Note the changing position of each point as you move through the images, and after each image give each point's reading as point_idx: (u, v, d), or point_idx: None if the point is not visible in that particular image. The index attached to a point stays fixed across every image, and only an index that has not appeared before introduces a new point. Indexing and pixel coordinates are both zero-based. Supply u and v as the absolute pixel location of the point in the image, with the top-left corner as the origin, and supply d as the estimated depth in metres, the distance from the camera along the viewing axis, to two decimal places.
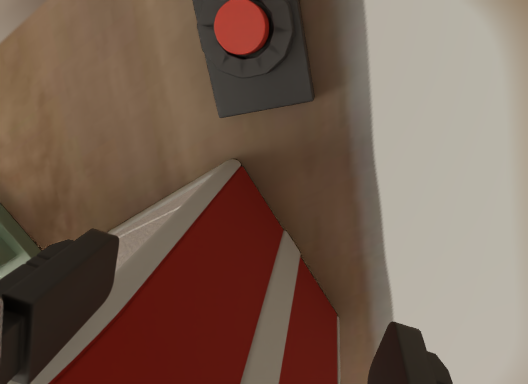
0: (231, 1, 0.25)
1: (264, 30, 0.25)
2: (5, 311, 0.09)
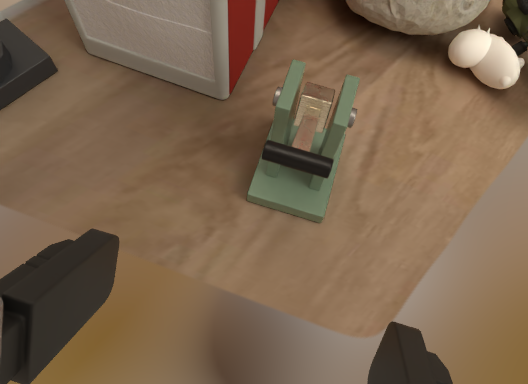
0: None
1: None
2: (5, 311, 0.09)
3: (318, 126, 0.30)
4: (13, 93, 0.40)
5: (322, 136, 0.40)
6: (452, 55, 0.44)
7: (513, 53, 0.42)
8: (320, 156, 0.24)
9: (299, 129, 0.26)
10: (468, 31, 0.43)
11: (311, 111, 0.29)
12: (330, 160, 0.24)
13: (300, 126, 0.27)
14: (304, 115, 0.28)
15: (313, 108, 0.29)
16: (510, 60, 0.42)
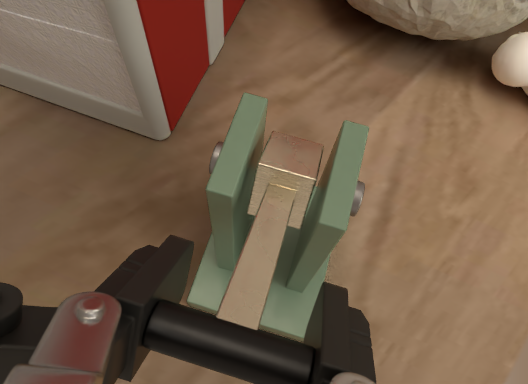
0: None
1: None
2: None
3: (292, 218, 0.16)
4: None
5: None
6: (499, 69, 0.30)
7: None
8: (282, 348, 0.10)
9: (244, 252, 0.12)
10: (524, 34, 0.29)
11: (276, 196, 0.15)
12: (306, 360, 0.10)
13: (247, 243, 0.13)
14: (261, 208, 0.14)
15: (281, 187, 0.15)
16: None
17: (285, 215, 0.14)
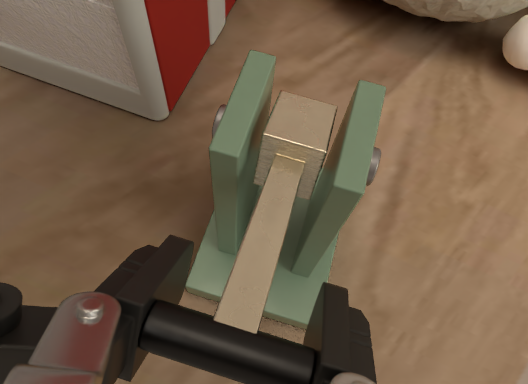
0: None
1: None
2: None
3: (301, 189, 0.15)
4: None
5: None
6: (511, 51, 0.29)
7: None
8: (282, 355, 0.09)
9: (245, 242, 0.11)
10: None
11: (283, 170, 0.14)
12: (306, 367, 0.09)
13: (249, 230, 0.12)
14: (265, 187, 0.13)
15: (288, 159, 0.14)
16: None
17: (291, 194, 0.13)
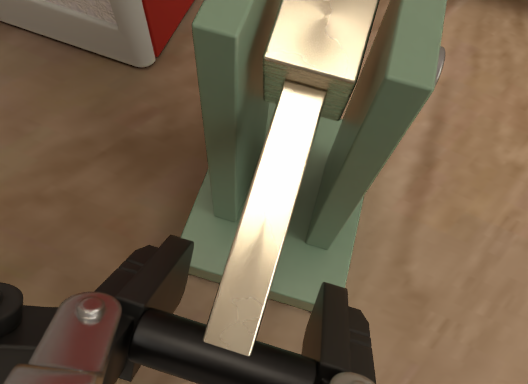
0: None
1: None
2: None
3: (326, 112, 0.11)
4: None
5: (332, 134, 0.20)
6: None
7: None
8: None
9: (240, 233, 0.09)
10: None
11: (294, 108, 0.10)
12: None
13: (246, 214, 0.09)
14: (268, 141, 0.10)
15: (303, 86, 0.10)
16: None
17: (304, 149, 0.10)
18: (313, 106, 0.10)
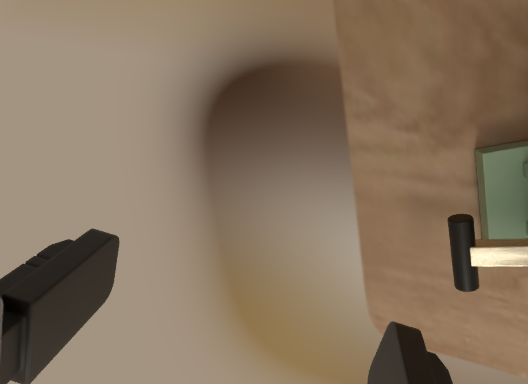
0: None
1: None
2: (5, 311, 0.09)
3: None
4: None
5: None
6: None
7: None
8: (465, 278, 0.22)
9: (525, 248, 0.20)
10: None
11: None
12: (464, 288, 0.22)
13: None
14: None
15: None
16: None
17: None
18: None
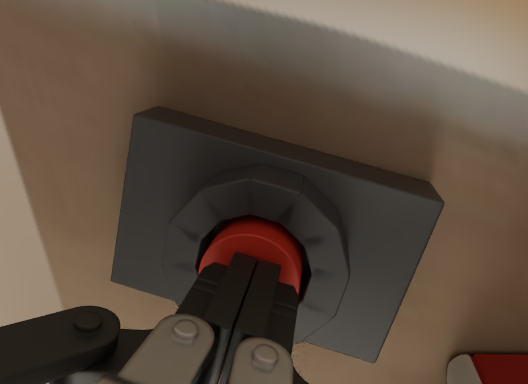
0: None
1: (275, 244, 0.13)
2: None
3: None
4: None
5: None
6: None
7: None
8: None
9: None
10: None
11: None
12: None
13: None
14: None
15: None
16: None
17: None
18: None
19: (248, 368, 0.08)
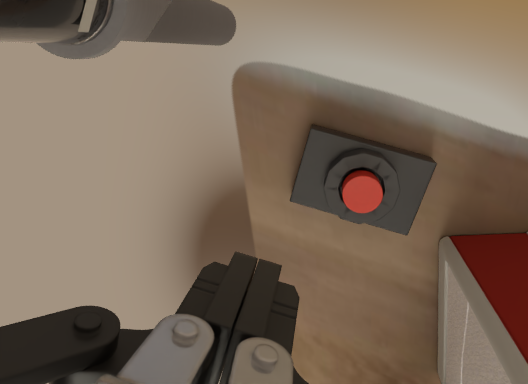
0: (344, 191, 0.34)
1: (374, 179, 0.33)
2: None
3: None
4: None
5: None
6: None
7: None
8: None
9: None
10: None
11: None
12: None
13: None
14: None
15: None
16: None
17: None
18: None
19: (248, 368, 0.08)
